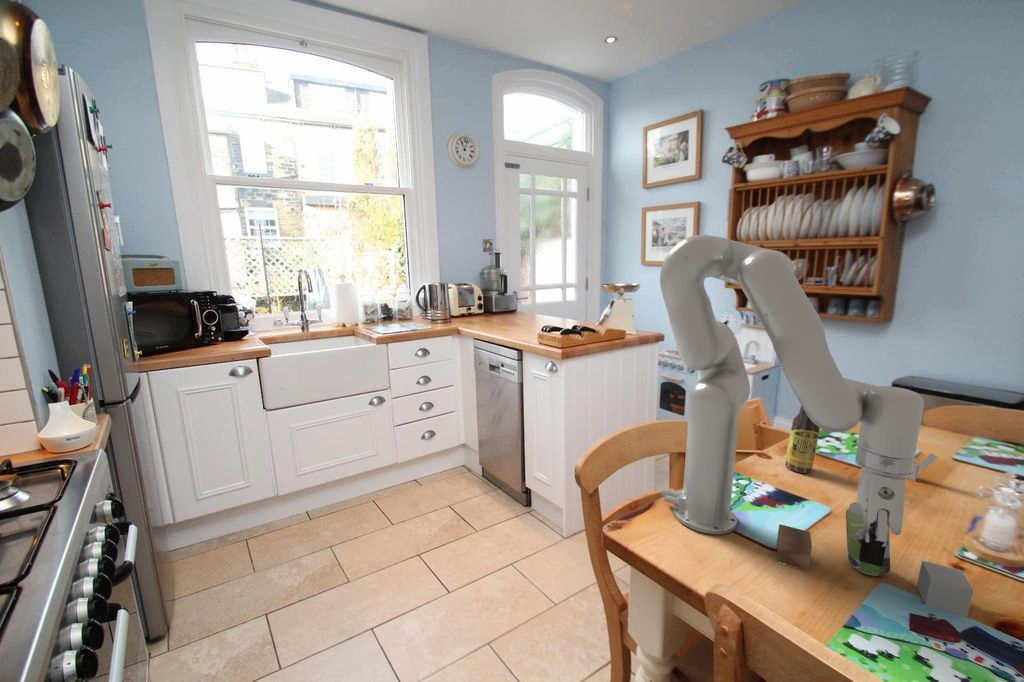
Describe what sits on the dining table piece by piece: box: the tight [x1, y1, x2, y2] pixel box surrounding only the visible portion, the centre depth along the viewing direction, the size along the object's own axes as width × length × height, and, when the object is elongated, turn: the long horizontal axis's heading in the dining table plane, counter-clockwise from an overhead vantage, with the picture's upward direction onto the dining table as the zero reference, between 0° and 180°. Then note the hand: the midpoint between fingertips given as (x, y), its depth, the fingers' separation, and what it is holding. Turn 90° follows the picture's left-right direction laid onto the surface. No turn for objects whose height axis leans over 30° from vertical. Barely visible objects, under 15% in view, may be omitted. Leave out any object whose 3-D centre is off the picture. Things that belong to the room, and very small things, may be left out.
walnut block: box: [775, 523, 813, 572], centre depth 84 cm, size 5×5×5 cm
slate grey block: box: [916, 560, 974, 618], centre depth 74 cm, size 5×5×5 cm
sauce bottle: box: [785, 405, 821, 474], centre depth 118 cm, size 6×6×20 cm
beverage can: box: [845, 501, 891, 576], centre depth 81 cm, size 6×7×12 cm
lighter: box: [905, 452, 939, 481], centre depth 114 cm, size 7×2×8 cm, turn 33°
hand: (868, 554), depth 80 cm, fingers closed on beverage can, 3 cm apart
